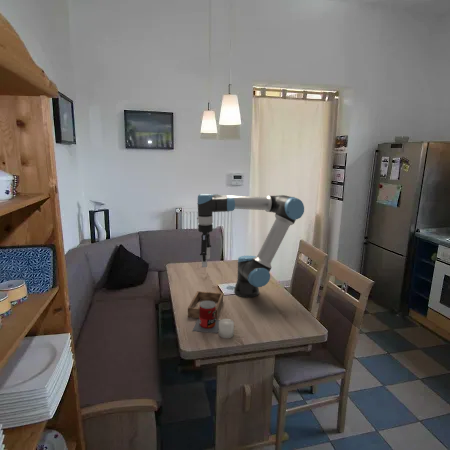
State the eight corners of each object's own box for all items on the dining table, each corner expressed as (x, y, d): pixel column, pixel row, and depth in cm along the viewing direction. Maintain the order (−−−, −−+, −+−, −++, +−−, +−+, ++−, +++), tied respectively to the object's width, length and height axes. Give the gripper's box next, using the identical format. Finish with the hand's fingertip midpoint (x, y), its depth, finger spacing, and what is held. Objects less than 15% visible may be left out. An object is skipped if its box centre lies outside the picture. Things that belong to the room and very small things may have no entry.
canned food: (209, 330, 149) (210, 308, 147) (196, 325, 153) (196, 304, 151) (218, 323, 156) (218, 302, 154) (205, 319, 160) (205, 299, 158)
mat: (221, 320, 160) (221, 320, 160) (217, 333, 148) (217, 332, 148) (198, 318, 161) (198, 318, 161) (192, 331, 149) (192, 330, 149)
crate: (222, 301, 182) (223, 293, 181) (216, 319, 161) (216, 310, 160) (197, 299, 184) (197, 291, 183) (187, 317, 163) (187, 308, 162)
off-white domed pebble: (234, 331, 150) (234, 319, 149) (232, 338, 144) (233, 326, 142) (219, 329, 151) (220, 318, 150) (217, 337, 144) (217, 325, 143)
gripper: (201, 219, 177) (202, 255, 182) (194, 228, 153) (195, 270, 157) (214, 219, 177) (215, 256, 181) (209, 229, 153) (210, 270, 157)
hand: (206, 262), depth 169 cm, fingers open, 13 cm apart
